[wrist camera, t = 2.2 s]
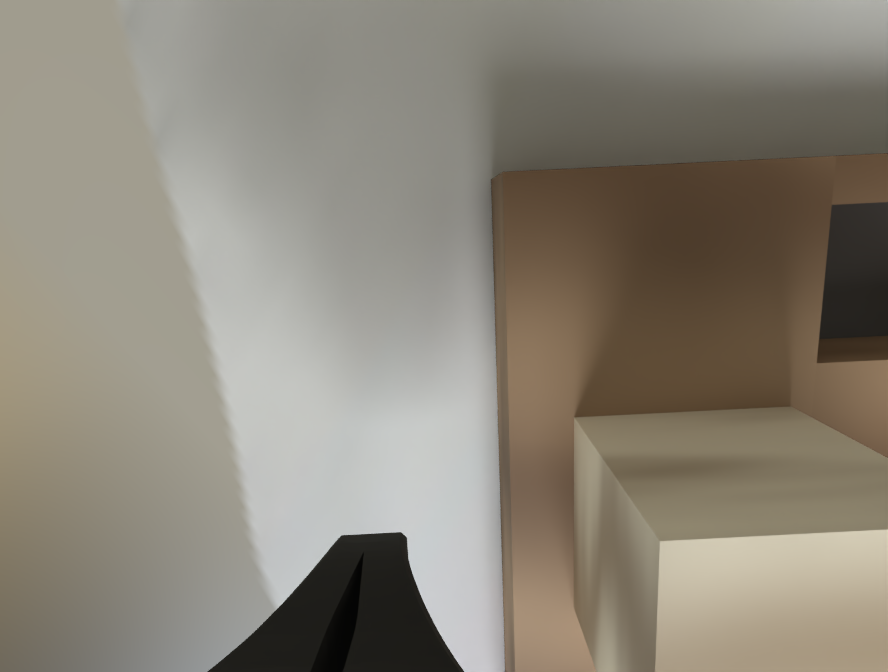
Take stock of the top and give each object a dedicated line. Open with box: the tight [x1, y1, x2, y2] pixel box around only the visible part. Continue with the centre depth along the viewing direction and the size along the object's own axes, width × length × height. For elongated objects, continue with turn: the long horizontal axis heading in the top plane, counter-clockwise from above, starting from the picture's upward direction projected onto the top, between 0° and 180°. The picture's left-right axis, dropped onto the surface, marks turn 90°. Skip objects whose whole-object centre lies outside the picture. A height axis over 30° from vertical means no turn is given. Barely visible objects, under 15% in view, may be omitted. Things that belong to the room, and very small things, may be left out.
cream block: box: [574, 407, 888, 672], centre depth 11 cm, size 5×5×5 cm
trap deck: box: [491, 153, 888, 672], centre depth 15 cm, size 16×20×2 cm
